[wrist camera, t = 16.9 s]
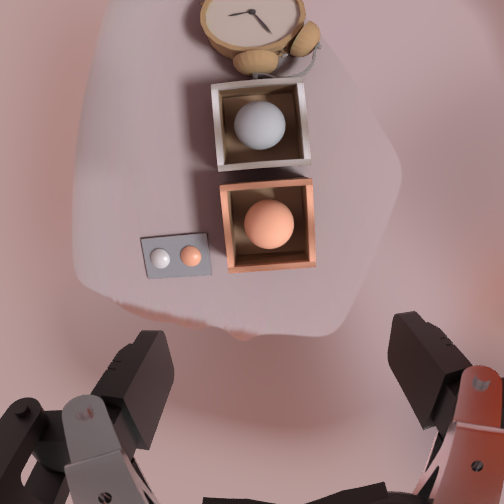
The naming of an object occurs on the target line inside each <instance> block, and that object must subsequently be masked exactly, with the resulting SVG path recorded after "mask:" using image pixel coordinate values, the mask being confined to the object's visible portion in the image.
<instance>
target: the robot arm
mask: <svg viewBox="0 0 504 504" xmlns="http://www.w3.org/2000/svg"><path fill="white" fill-rule="evenodd" d="M388 362H389V366H390V368H391V370H392V371H393V373H394V375H395V377H396V379H397V381H398V382H399V384H400V386H401V388H402V390H403V392H404V394H405V395H406V397H407V399H408V401H409V403H410V405H411V407H412V409H413V411H414V413H415V415H416V416H417V418H418V420H419V422H420V424H421V426H422V428H423V430H425V429H428V428H431V427H434V426H436V427H437V429H438V431H437V433H436V436H435V438H434V441H433V445H432V447H431V450H430V453H429V456H428V459H427V462H426V464H425V467H424V470H423V472H422V475H421V478H420V479H419V482H418V484H417V485H416V487H415V489H414V491H413V493H412V494H411V493H405V492H393V491H391V492H390V491H389V492H387V489H386V486H385V482H381V483H377V484H372V485H368V486H364V487H359V488H354V489H349V490H343V491H340V492H338V493H335V494H333V495H329V496H327V497H324V498H321V499H318V500H315V501H312V502H309V503H306V504H499V502H500V497H501V493H502V488H503V481H504V378H501V377H500V376H499V374H498V373H497V372H496V371H495V370H493V369H492V368H490V367H487V366H483V365H474V366H473V365H472V364H471V363H470V362H469V360H468V359H467V358H466V357H465V356H464V355H463V354H462V353H461V351H459V349H458V348H457V347H456V346H455V345H453V342H451V340H450V339H449V338H447V336H446V335H445V334H444V333H443V331H441V329H440V328H438V327H436V326H434V325H432V324H431V323H429V322H427V323H426V322H425V321H424V320H423V319H422V318H421V316H420V315H418V313H417V312H415V311H412V312H405V313H398V314H395V315H394V317H393V321H392V328H391V334H390V340H389V346H388ZM173 381H174V367H173V363H172V359H171V355H170V352H169V348H168V344H167V340H166V337H165V334H164V332H163V331H154V330H153V331H150V330H142V331H141V332H140V333H139V335H138V336H137V338H136V339H135V341H134V343H133V344H128V345H127V346H125V347H124V348H123V349H121V350H120V351H119V352H118V353H117V354H116V356H115V357H114V359H113V362H111V364H110V365H109V367H108V370H106V371H105V373H104V374H103V375H102V377H101V378H100V380H99V381H98V383H97V385H96V386H95V388H94V389H93V391H92V392H91V394H90V395H81V396H78V397H75V398H73V399H72V400H70V401H69V402H68V403H67V404H66V405H65V406H64V408H63V410H56V411H44V410H43V408H42V407H41V405H40V403H39V402H38V401H37V400H36V399H34V398H22V399H19V400H17V401H15V402H14V403H13V404H11V405H10V406H9V408H8V409H7V410H6V412H5V413H4V415H3V416H2V417H1V419H0V504H65V502H66V500H67V497H68V495H69V492H70V494H71V497H72V500H73V504H160V503H159V501H158V500H157V498H156V496H155V495H154V493H153V491H152V489H151V487H150V486H149V484H148V482H147V480H146V478H145V476H144V475H143V473H142V471H141V469H140V467H139V465H138V463H137V461H136V459H135V457H134V453H135V450H136V448H138V449H144V450H149V449H150V446H151V443H152V440H153V437H154V434H155V431H156V429H157V426H158V423H159V420H160V417H161V414H162V412H163V409H164V406H165V403H166V401H167V398H168V395H169V392H170V390H171V387H172V384H173ZM31 454H32V455H33V456H34V457H35V458H36V460H37V462H36V465H35V466H34V468H33V470H32V472H31V474H30V476H29V478H28V480H27V482H26V484H25V486H23V485H22V482H21V472H22V470H23V468H24V466H25V464H26V463H27V461H28V459H29V457H30V455H31ZM202 504H274V503H268V502H261V501H256V500H251V499H226V498H207V497H203V503H202Z"/></svg>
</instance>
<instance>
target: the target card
mask: <svg viewBox="0 0 504 504" xmlns="http://www.w3.org/2000/svg"><path fill="white" fill-rule="evenodd" d="M141 242H142V248H143V253H144V259H145V264H146V270H147V275H148V279H156V278H175V277H192V276H209V275H212V271H211V263H210V255H209V247H208V239H207V233H197V234H186V235H175V236H164V237H153V238H143V239H141Z"/></svg>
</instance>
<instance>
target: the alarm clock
mask: <svg viewBox="0 0 504 504" xmlns="http://www.w3.org/2000/svg"><path fill="white" fill-rule="evenodd" d="M200 5H202V9H201V11H200V23H201V25H202V27H203V29H204V31H205V34H206V36H207V38H208V40H209V42H210V44H211V46H212V47H213V48H215V49H216V50H217V51H218V52H219V53H220V54H221V55H224V56H226V57H228V58H230V59H232V60H233V64H234V67H235V68H236V70H237V71H238V72H239V73H241V74H243V75H246V76H250V77H252V78H253V79H254V80H256V79H258V77H265V78H267V79H271V78H296V77H303V76H304V75H306V74H307V73H308V72H309V71H310V70H311V68H312V66H313V64H314V60H315V54H316V49H317V48H318V49H321V47H322V46H321V45H320V44H319V43H320V42H319V40H320V30H319V28H318V27H317V25H316V24H314V23H313V22H312V21H309V22H308V23H306V25H305V26H304V20H305V16H306V13H305V8H304V3H303V1H302V0H205V1H204V2H200ZM314 49H315V50H314ZM313 50H314V53H313V58H312V62H311V64H310V65H309V66H308V67H307V68H306V69H305V70H304V71H302V72H300V73H299V74H296V75H293V76H288V77H277V76H272V75H270V74H269V73H271V72H272V71H274V70H275V69H276V67H277V65H278V61H279V58H278V57H282V58H284V57H286V56H288V54H287V52H289V51H290V54H291V55H293V56H296V57H304V56H306V55H308V54H310V53H311V52H312V51H313Z"/></svg>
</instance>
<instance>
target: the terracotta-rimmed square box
mask: <svg viewBox="0 0 504 504" xmlns="http://www.w3.org/2000/svg"><path fill="white" fill-rule="evenodd" d="M220 196H221V206H222V216H223V226H224V235H225V244H226V253H227V262H228V271H229V273H240V272H255V271H269V270H283V269H296V268H309V267H316V252H315V223H314V202H313V184H312V178H307V177H295V178H279V179H265V180H252V181H241V182H230V183H224V184H222V185H220ZM266 199H272V200H277V201H279V202H281V203H283V204H284V205H285V206H286V207H287V208H288V209H289V210H290V212H291V213H292V216H293V220H294V229H293V232H292V235H291V237H290V238H289V240H288V241H287V242H286V243H285V244H283V245H282V246H280V247H277V248H274V249H264V248H261V247H258V246H257V245H255V244H254V243H252V242H251V241H250V239H249V238H248V236H247V234H246V232H245V228H244V220H245V216H246V214H247V212H248V210H249V209H250V208H251V207H252V206H253V205H254V204H255V203H257V202H259V201H261V200H266Z"/></svg>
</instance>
